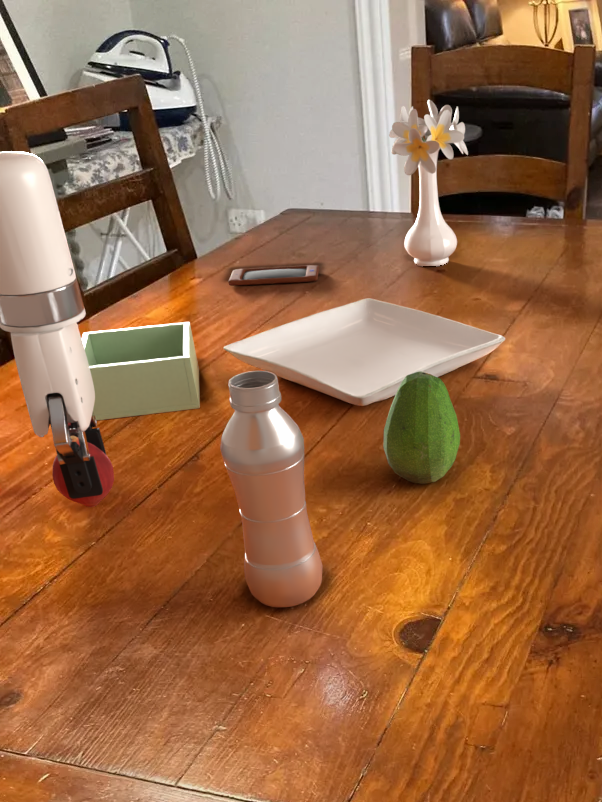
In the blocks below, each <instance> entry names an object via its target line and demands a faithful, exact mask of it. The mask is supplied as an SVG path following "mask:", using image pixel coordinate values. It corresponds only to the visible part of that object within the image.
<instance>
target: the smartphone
mask: <svg viewBox="0 0 602 802" xmlns="http://www.w3.org/2000/svg"><path fill="white" fill-rule="evenodd" d="M319 271H320V266H319V265H317V264H315V265H313V264H312V265H310V264H309V265H293V266H292V265H291V266H290V265H289V266H273V267H272V266H271V267H252V268H251V267H250V268H237V269H233V270H232V272H231V275H230V277H229V279H228V285H229V286H249V285H269V284H289V283H290V284H291V283H307V282H317V281H318V278H319Z"/></svg>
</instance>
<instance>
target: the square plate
mask: <svg viewBox="0 0 602 802" xmlns="http://www.w3.org/2000/svg"><path fill="white" fill-rule="evenodd" d="M505 341H506V337H505V336H503V335H501V334H497V333H494V332H491V331H488V330H485V329H481V328H478V327H475V326H472V325H469V324H466V323H462V322H459V321H457V320H453V319H450V318H446V317H444V316H440V315H437V314H432V313H429V312H427V311H426V312H425V311H422V310H419V309H414V308H411V307H408V306H403V305H399V304H395V303H391V302H387V301H382V300H378V299H374V298H363V299H359V300H357V301H354V302H350V303H347V304H343V305H340V306H336V307H333V308H329V309H326V310H323V311H320V312H317V313H314V314H310V315H307V316H304V317H302V318H299V319H296V320H293V321H290V322H287V323H285V324H282V325H279V326H276V327H273V328H270V329H268V330H265V331H263V332H262V331H261V332H260V333H257V334H254V335H252V336H249V337H246V338H243V339H241V340H238V341H235V342H232V343H230V344H227V345H224V346H223V350H224V351H226V352H227V353H229V354H230V355H232V356H233V357H234V358H235V359H237V360H238V361H240V362H243V363H244V364H246V365H248V366H250V367H253V368H256V369H259V370H261V371H268V372H272V373H274V374H275V375H276V376H277V377H279V378H281V379H284V380H288V381H290V382H292V383H295V384H298V385H301V386H302V387H303V386H304V387H306V388H309V389H311V390H314V391H317V392H319V393H322V394H324V395H328V396H330V397H332V398H335V399H338V400H341V401H343V402H345V403H349V404H352V405H355V406H358V407H359V406H361V407H365V406H368V405H370V404H373V403H377V402H381V401H384V400H387V399H390V398H392V397H395V395H396V393H397V390H398V388H399V386H400V384H401V382H402V381H403V380H404V378H405V377H406V376H407V375H409V374H412V373H415V372H418V371H422V372H426V373H429V374H431V375H433V376H436V377H438V378H440V377H441V376H443V375H446V374H448V373H450V372H453V371H455V370H457V369H458V368H460V367H463V366H466V365H468V364H470V363H472V362H474V361H477V360H479V359H481V358H483V357H485V356H486V355H487V356H488V355H489V354H490V353H492V352H493V351H495V350H496V349H498V348H499V346H501V344H502V343H504V342H505Z"/></svg>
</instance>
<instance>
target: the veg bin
mask: <svg viewBox="0 0 602 802" xmlns="http://www.w3.org/2000/svg"><path fill="white" fill-rule="evenodd" d="M81 339H82V342H83V346H84V349H85V353H86V356H87V360H88V364H89V368H90V372H91V376H92V380H93V385H94V391H95V402H94V407H93V412H94V415H95V417H96V421H103V420H112V419H120V418H128V417H129V418H130V417H137V416H138V417H139V416H145V415H146V416H147V415H155V414H165V413H171V412H180V411H188V410H197V409H200V407H201V403H200V401H201V399H200V397H201V396H200V394H201V393H200V367H199V362H198V357H197V351H196V348H195V342H194V337H193V332H192V326H191V322H190V321H183V322H181V321H180V322H173V323H164V324H154V325H144V326H134V327H124V328H115V329H114V328H113V329H106V330H95V331H85V332H82V335H81Z"/></svg>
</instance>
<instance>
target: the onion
mask: <svg viewBox="0 0 602 802" xmlns="http://www.w3.org/2000/svg"><path fill="white" fill-rule="evenodd" d="M70 438H71V439H72V442H77V444H78V445H79V446H80V444H79V439H78V438H77V437H76V436H70ZM87 444H88V449H89V454H90V457H91V456H94V459H95V463H96V466H97V470H98V473H99V477H100V480H101V484H102V487H103V493H102V494H101V495H98V496H91V497H83V498H76V499H72V498H70V497H69V494H68V491H67V488H66V485H65V481H64V478H63V475H62V472H61V468H60V465H59V461H58V457H57V455H55V457H54V460H53V463H52V476H51V477H52V481H53V484H54V486H55V488H56V490H57V491H58V493H60V494H61V495H62V496H63V497H65V498H66V499H67V500H70V501H72V502H74V503H77V504H81V505H83V506H85V507H86V508H90V509H91V508H95V507H97V506H98V505H99V504H100V503H101V502H102V501H103V500H104V499H105V498H106V497H107V496H108V495H109V493H110V492H111V490H112V489H113V487H114V486H113V485H114V482H115V474H114V473H115V472H114V466H113V463H112V461H111V460H110V458H109V457H108V455H107V453H106V454H105V453H104V452H103V451H101V450H100V449H99V448H98V447H96V446H95V445H93V444H91V443H89V442H87Z"/></svg>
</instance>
